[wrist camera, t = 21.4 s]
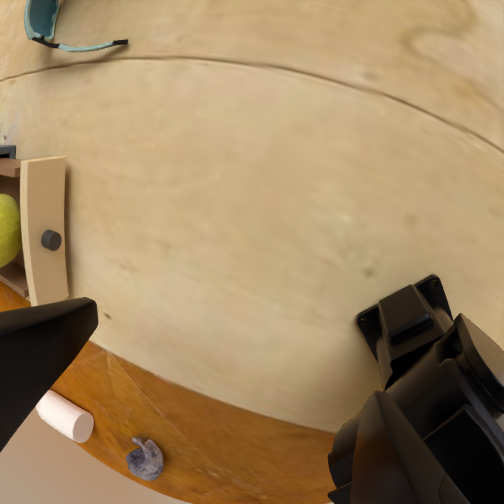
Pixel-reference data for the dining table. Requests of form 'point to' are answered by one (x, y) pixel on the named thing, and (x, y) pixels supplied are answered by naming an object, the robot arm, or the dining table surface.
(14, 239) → the fruit
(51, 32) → the sunglasses
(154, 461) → the seashell
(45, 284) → the drawer
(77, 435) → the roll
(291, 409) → the dining table surface
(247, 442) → the dining table surface
